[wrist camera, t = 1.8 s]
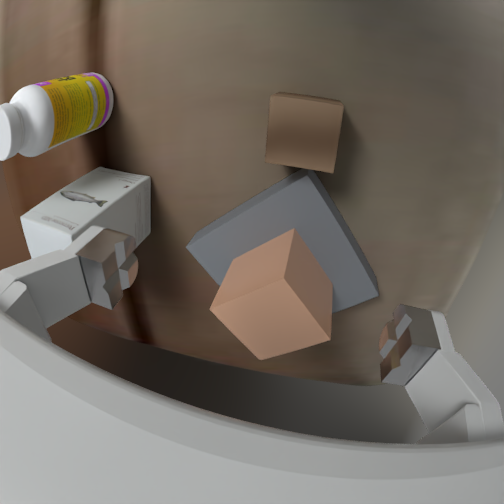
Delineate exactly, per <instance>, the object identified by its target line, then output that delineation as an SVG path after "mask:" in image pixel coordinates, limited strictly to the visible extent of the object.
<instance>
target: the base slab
mask: <svg viewBox="0 0 504 504" xmlns="http://www.w3.org/2000/svg"><path fill="white" fill-rule="evenodd" d="M293 228H295V229H296V231H297V232H298V234H299V235H300V236H301V238H302V239H303V241H304V242H305V244H306V245H307V247H308V248H309V250H310V251H311V253H312V254H313V255H314V257H315V258H316V260H317V261H318V263H319V264H320V266H321V267H322V269H323V270H324V272H325V273H326V275H327V276H328V278H329V279H330V281H331V282H332V284H333V295H332V313H335V312H338V311H341V310H343V309H346V308H349V307H351V306H354V305H356V304H359V303H362V302H364V301H367V300H369V299H372V298H374V297H377V296H379V293H378V287H377V280H376V276H375V274H374V272H373V271H372V269H371V267H370V265H369V263H368V261H367V259H366V258H365V256H364V254H363V252H362V250H361V248H360V247H359V245H358V243H357V241H356V240H355V238H354V236H353V234H352V233H351V231H350V229H349V227H348V226H347V224H346V222H345V221H344V219H343V217H342V216H341V214H340V212H339V211H338V209H337V207H336V206H335V204H334V202H333V201H332V199H331V197H330V196H329V194H328V193H327V191H326V189H325V188H324V186H323V185H322V183H321V182H320V180H319V178H318V177H317V175H316V174H315V172H314V171H313V170H311V169H305V168H302V169H300V170H299V171H297V172H295V173H293V174H292V175H290V176H288V177H286V178H285V179H283V180H281V181H280V182H278V183H276V184H274V185H273V186H271V187H269V188H268V189H266V190H264V191H263V192H261V193H259V194H258V195H256V196H254V197H253V198H251V199H249V200H248V201H246V202H244V203H243V204H241V205H240V206H238V207H236V208H235V209H233V210H231V211H230V212H228V213H227V214H225V215H223V216H222V217H220V218H218V219H217V220H215V221H214V222H212V223H211V224H209V225H207V226H206V227H204V228H203V229H201V230H199V231H198V232H197V233H196V234H195V235H194V237H193V238H192V239H191V241H190V242H189V243H188V245H187V246H186V248H187V249H188V250H189V251H190V253H191V254H192V255H193V256H194V257H195V258H196V260H197V261H198V262H199V263H200V264H201V265H202V266H203V268H204V269H205V270H206V271H207V272H208V273H209V274H210V276H211V277H212V278H213V279H214V280H215V281H216V282H217V284H218V285H219V286H221V284H222V282H223V280H224V277H225V275H226V273H227V271H228V269H229V267H230V265H231V263H232V261H233V259H235V258H237V257H239V256H241V255H243V254H245V253H247V252H248V251H250V250H252V249H254V248H256V247H258V246H260V245H262V244H264V243H266V242H268V241H270V240H272V239H274V238H276V237H278V236H280V235H282V234H284V233H286V232H288V231H290V230H292V229H293Z"/></svg>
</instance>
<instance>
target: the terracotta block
mask: <svg viewBox="0 0 504 504" xmlns="http://www.w3.org/2000/svg"><path fill="white" fill-rule="evenodd" d="M332 295H333V284H332V282H331V281H330V279H329V278H328V276H327V275H326V273H325V272H324V270H323V269H322V267H321V266H320V264H319V263H318V261H317V260H316V258H315V257H314V255H313V254H312V253H311V251H310V250H309V248H308V247H307V245H306V244H305V242H304V241H303V239H302V238H301V236H300V235H299V234H298V232H297V231H296V229H295V228H293V229H292V230H290V231H288V232H286V233H284V234H282V235H280V236H278V237H276V238H274V239H272V240H270V241H268V242H266V243H264V244H262V245H260V246H258V247H256V248H254V249H252V250H250V251H248V252H247V253H245V254H243V255H241V256H239V257H237V258H235V259H233V261H232V263H231V265H230V267H229V269H228V271H227V273H226V275H225V277H224V280H223V282H222V284H221V286H220V288H219V290H218V292H217V294H216V296H215V299H214V301H213V303H212V305H211V307H210V310H211V311H212V312H213V313H214V314H215V315H216V317H217V318H218V319H219V320H220V321H221V322H222V323H223V324H224V325H225V326H226V327H227V328H228V329H229V330H230V331H231V332H232V333H233V334H234V335H235V336H236V337H237V338H238V339H239V340H240V341H241V342H242V343H243V344H244V345H245V346H246V347H247V348H248V349H249V350H250V351H251V352H252V353H253V354H254V355H255V356H256V357H257V358H258V359H259V360H262V359H266V358H270V357H274V356H278V355H281V354H285V353H289V352H292V351H296V350H299V349H303V348H306V347H309V346H313V345H316V344H319V343H322V342H326V341H329V340H331V323H332Z"/></svg>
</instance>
